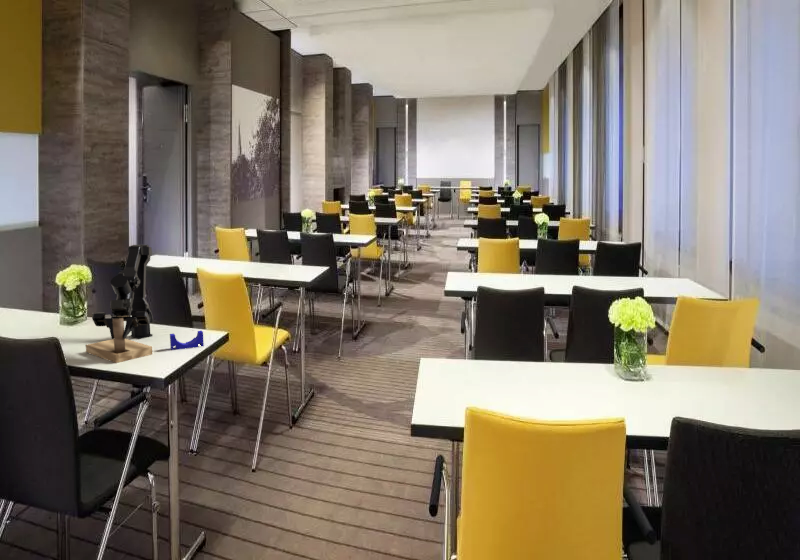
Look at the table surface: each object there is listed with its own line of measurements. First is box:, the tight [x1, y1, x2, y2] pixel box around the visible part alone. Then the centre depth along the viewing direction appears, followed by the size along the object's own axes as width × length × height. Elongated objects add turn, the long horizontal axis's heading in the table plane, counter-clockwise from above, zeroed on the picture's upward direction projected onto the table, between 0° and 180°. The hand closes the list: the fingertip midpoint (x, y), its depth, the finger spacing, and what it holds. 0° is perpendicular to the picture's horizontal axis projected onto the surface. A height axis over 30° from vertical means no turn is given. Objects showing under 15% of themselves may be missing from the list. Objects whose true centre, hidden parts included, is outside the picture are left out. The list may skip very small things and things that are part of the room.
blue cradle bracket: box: [169, 330, 205, 351], centre depth 229 cm, size 12×4×6 cm, turn 120°
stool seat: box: [85, 338, 153, 364], centre depth 219 cm, size 14×22×3 cm, turn 54°
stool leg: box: [113, 318, 126, 354], centre depth 211 cm, size 4×4×14 cm
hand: (118, 338), depth 210 cm, fingers closed on stool leg, 4 cm apart
